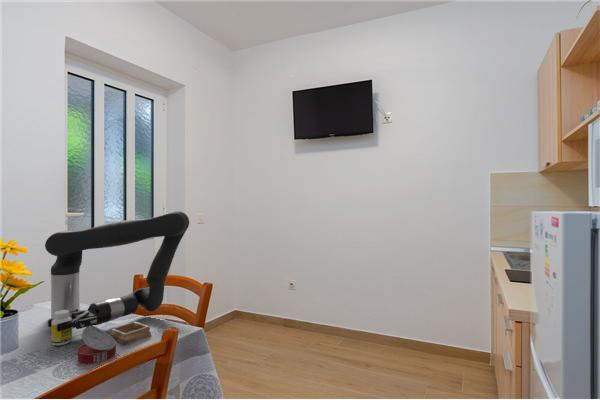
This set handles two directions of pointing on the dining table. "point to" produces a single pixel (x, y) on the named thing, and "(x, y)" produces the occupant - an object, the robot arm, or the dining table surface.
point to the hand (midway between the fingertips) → (52, 325)
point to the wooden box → (130, 332)
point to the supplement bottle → (63, 335)
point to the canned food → (96, 346)
